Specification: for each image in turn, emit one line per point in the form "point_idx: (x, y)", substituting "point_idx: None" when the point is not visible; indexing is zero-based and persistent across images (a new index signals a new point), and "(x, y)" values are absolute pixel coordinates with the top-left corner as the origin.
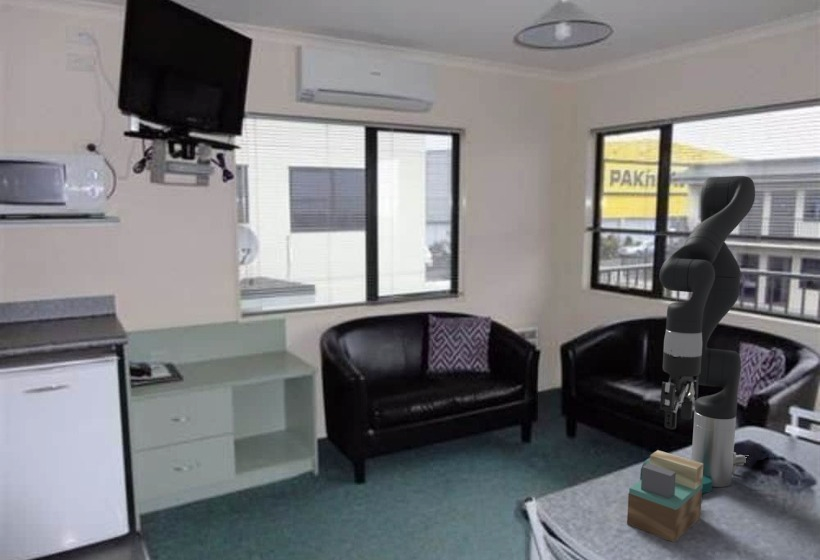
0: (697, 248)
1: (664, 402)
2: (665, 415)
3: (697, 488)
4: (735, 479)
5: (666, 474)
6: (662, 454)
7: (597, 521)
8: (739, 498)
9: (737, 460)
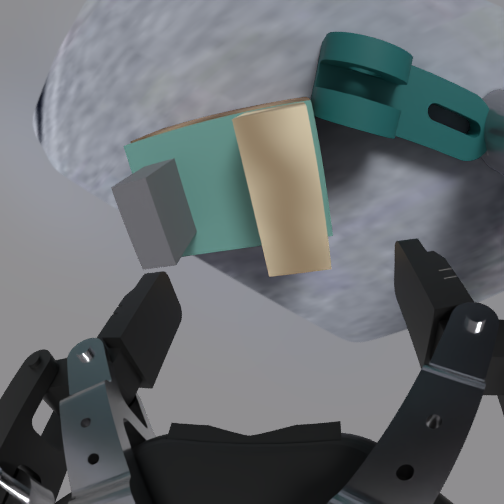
0: None
1: (38, 398)
2: (102, 330)
3: None
4: None
5: (139, 257)
6: (283, 141)
7: (120, 94)
8: (466, 207)
9: None
